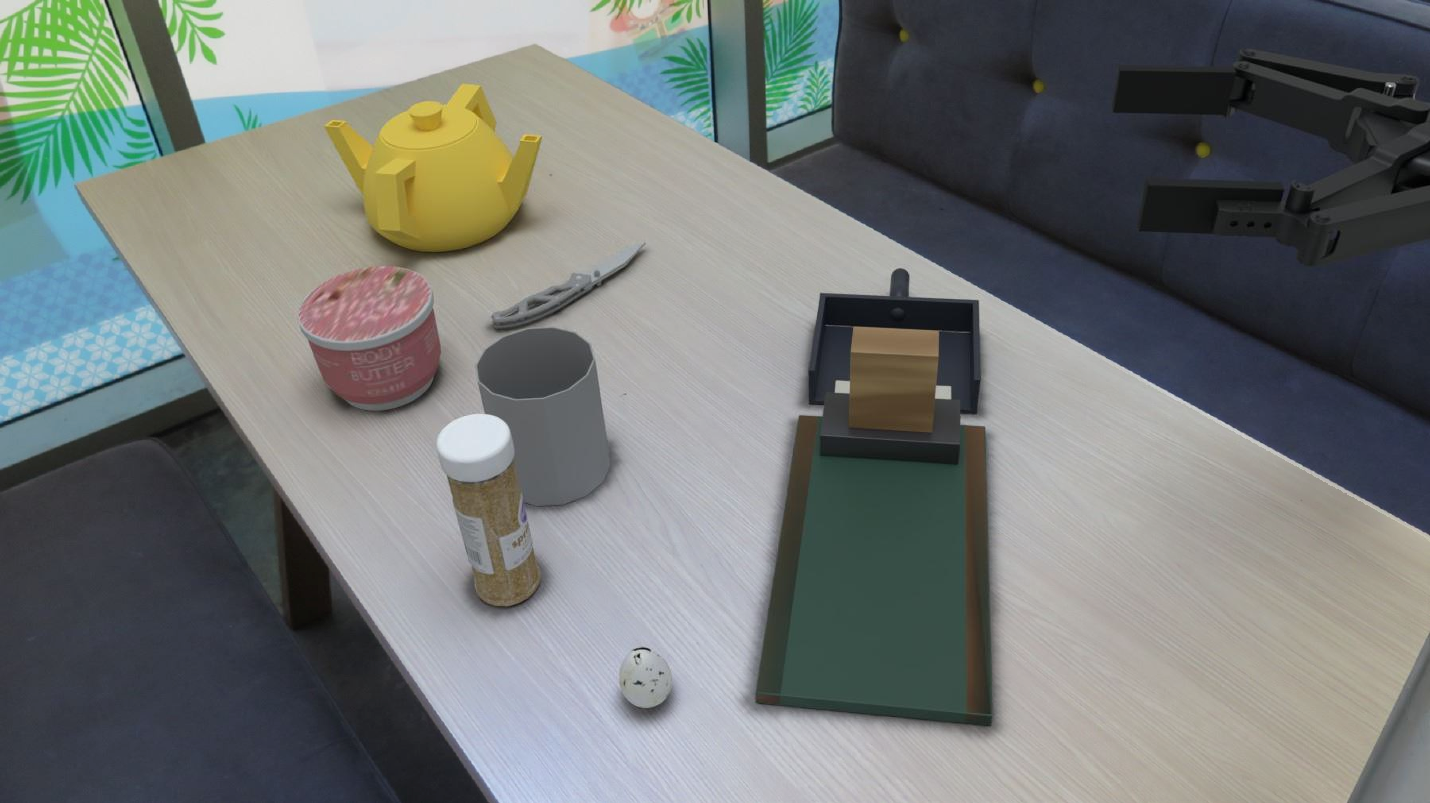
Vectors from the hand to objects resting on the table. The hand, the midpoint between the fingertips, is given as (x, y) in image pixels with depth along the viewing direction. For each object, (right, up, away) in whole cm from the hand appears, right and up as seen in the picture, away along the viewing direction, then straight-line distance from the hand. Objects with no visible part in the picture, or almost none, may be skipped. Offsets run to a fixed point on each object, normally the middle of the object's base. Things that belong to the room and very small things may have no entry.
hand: (1127, 142), depth 67 cm
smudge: (-7, -15, +26) cm, 31 cm away
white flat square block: (-12, -15, +26) cm, 32 cm away
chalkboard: (-12, -25, +15) cm, 31 cm away
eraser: (-10, -17, +22) cm, 30 cm away
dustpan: (-8, -10, +33) cm, 35 cm away
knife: (-36, -5, +41) cm, 55 cm away
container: (-50, -13, +33) cm, 61 cm away
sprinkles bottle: (-37, -27, +15) cm, 48 cm away
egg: (-27, -33, +7) cm, 43 cm away
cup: (-35, -19, +23) cm, 46 cm away
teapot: (-49, +4, +53) cm, 72 cm away
